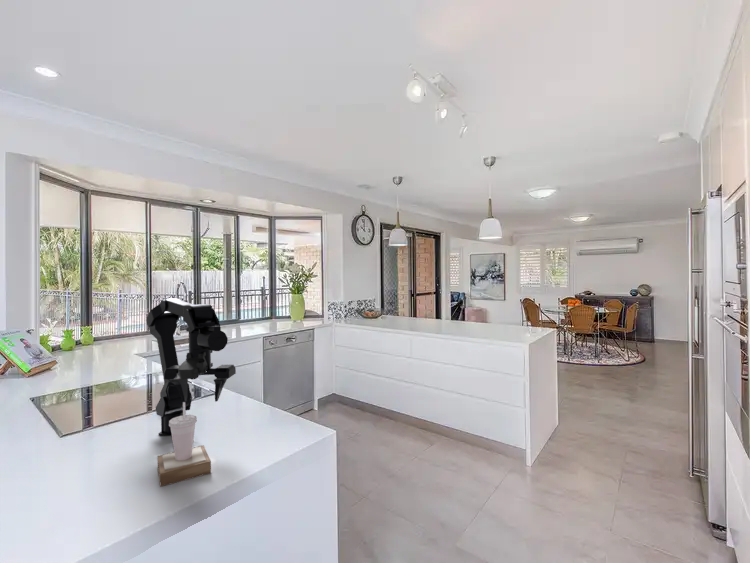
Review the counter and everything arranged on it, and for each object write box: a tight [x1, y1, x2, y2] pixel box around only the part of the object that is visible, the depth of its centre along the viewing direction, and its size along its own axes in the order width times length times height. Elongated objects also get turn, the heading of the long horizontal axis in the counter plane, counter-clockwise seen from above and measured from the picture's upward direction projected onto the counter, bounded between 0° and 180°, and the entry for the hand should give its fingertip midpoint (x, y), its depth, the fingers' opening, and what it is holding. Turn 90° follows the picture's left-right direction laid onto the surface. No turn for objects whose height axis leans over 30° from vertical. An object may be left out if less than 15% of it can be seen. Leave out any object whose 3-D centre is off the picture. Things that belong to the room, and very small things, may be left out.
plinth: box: [157, 445, 212, 487], centre depth 97 cm, size 11×11×3 cm
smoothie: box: [169, 402, 198, 461], centre depth 97 cm, size 6×6×14 cm
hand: (200, 401), depth 111 cm, fingers open, 9 cm apart
